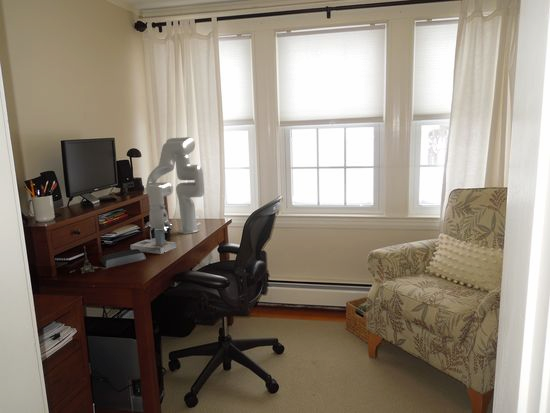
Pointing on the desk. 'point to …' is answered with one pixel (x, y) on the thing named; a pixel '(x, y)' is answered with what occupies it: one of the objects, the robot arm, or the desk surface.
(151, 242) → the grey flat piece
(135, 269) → the desk surface
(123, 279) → the desk surface
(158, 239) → the peg
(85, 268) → the eiffel tower figurine
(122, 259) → the external hard drive
